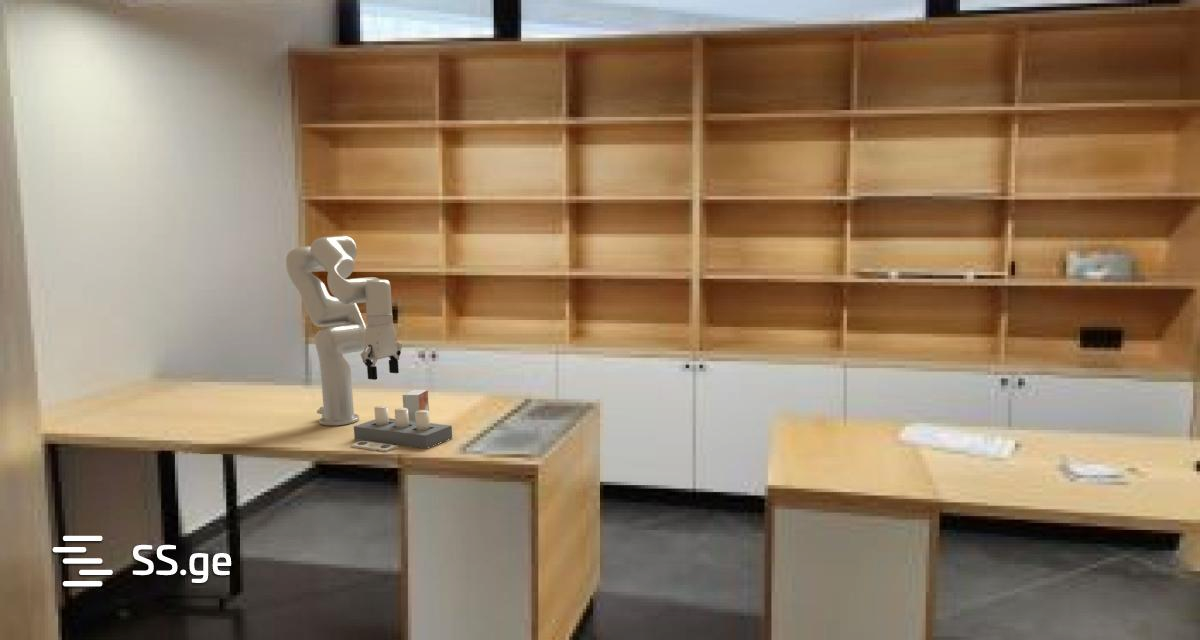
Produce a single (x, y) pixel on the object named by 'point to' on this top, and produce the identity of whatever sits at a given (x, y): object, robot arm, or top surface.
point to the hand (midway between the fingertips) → (383, 376)
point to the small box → (415, 402)
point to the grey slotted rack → (403, 434)
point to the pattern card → (373, 446)
